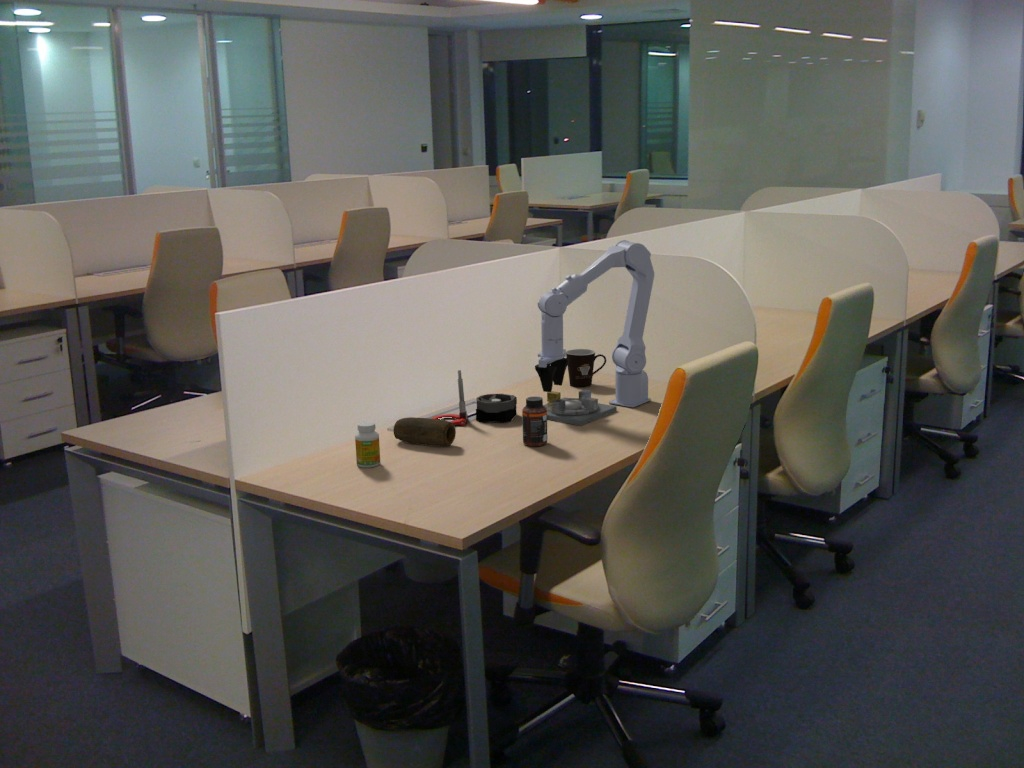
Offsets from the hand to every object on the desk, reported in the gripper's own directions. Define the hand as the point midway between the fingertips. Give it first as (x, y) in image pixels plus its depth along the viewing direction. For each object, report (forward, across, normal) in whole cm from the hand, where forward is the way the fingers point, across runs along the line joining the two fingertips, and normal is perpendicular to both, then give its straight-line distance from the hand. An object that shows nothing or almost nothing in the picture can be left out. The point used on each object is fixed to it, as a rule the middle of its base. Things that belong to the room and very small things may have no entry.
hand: (552, 388), depth 265 cm
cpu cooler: (+7, +11, -12) cm, 17 cm away
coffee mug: (+6, -30, -2) cm, 30 cm away
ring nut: (+5, 0, +5) cm, 7 cm away
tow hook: (+7, +19, -22) cm, 30 cm away
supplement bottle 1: (+7, +56, -23) cm, 61 cm away
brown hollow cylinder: (+7, +37, -18) cm, 42 cm away
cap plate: (+6, 0, +6) cm, 8 cm away
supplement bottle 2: (+7, +28, +7) cm, 30 cm away
